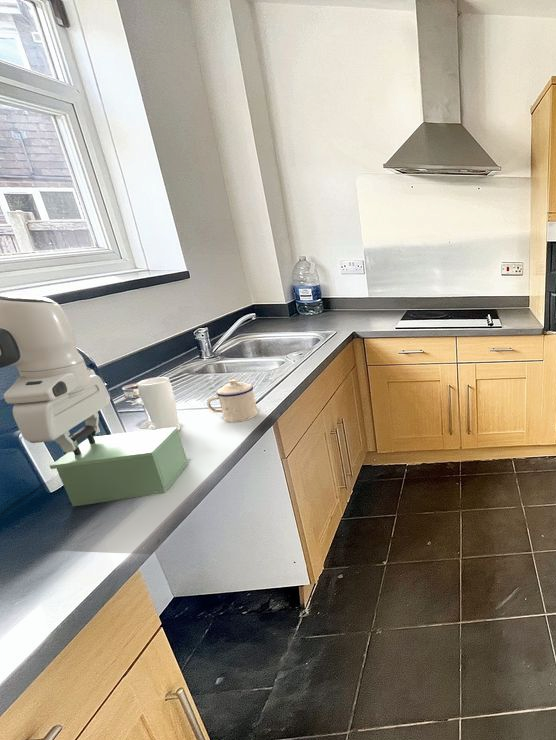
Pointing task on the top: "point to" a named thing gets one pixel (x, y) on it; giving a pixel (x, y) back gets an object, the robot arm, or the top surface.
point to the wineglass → (136, 400)
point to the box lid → (113, 446)
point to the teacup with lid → (235, 401)
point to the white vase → (159, 402)
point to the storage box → (125, 476)
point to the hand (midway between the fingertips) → (82, 442)
